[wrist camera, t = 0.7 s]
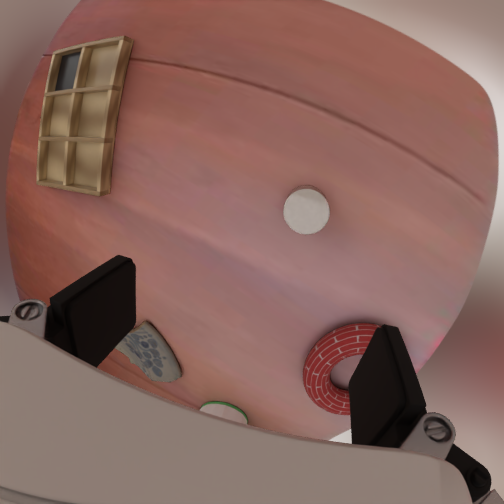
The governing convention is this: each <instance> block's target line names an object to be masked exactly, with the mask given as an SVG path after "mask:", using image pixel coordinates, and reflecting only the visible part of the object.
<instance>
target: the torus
mask: <svg viewBox="0 0 504 504" xmlns="http://www.w3.org/2000/svg"><path fill="white" fill-rule="evenodd" d="M377 327H380V328H381V326H379V325H376V324H370V323H356V324H350V325H346V326H343V327H340V328H338V329H336V330H333V331H332V332H330V333H328V334H327V335H325V336H324V337H323V338H322V339H320V340H319V341H318V342H317V343H316V345H315V346H314V347H313V348H312V350H311V351H310V353H309V354H308V357H307V359H306V361H305V365H304V369H303V382H304V386H305V389H306V392H307V394H308V395H309V397H310V398H311V400H312V401H313V402H314V403H315V404H316V405H318V406H319V407H320V408H322V409H324V410H326V411H328V412H331V413H334V414H340V415H350V402H349V391H346V390H341V389H339V388H337V387H335V386H334V385H333V384H332V383H331V381H330V372H331V370H332V369H333V367H334V366H335V365H336V364H337V363H338V362H340V361H341V360H343V359H345V358H347V357H350V356H353V355H360V354H364V352H365V350H366V348H367V346H368V344H369V342H370V340H371V338H372V336H373V334H374V332H375V330H376V328H377Z"/></svg>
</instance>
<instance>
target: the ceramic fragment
mask: <svg viewBox="0 0 504 504" xmlns="http://www.w3.org/2000/svg"><path fill="white" fill-rule="evenodd" d="M115 348H116V349H118V350H119V351H120V352H121V353H123V354H125V355H126V356H127V357H129V359H130V362H131V363H132V364H136V365H137V366H138V367H140V369H141V370H142V371H143V372H144V373H145V374H146V375H147V376H148V377H149V378H150V379H151V380H152V381H161V382H163V381H164V382H172V381H174V380H176V379H178V378H180V377H181V376H182V374H181V370H180V368H179V365H178V363H177V360H176V358H175V356H174V354H173V352H172V351H171V349H170V347H169V346H168V345H167V343H166V342H165V340H164V339H163V338H162V336H161V335H160V334H159V333H158V332H157V331H156V330H155V329H154V328H153V327H152V326H151V325H150V324H149V323H148V322H147V321H144V322H143V323H142V324H141V325H140V326H139V327H138V328H135V329H132V330H131V331H130V332H129V333H128V334H127V335H126V336H125V337H124V338H123V339H122V341H121V342H120V343H119V344H118V345H117V346H116V347H115Z"/></svg>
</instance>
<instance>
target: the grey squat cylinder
mask: <svg viewBox="0 0 504 504" xmlns="http://www.w3.org/2000/svg"><path fill="white" fill-rule="evenodd" d="M283 214H284V219H285V221H286V223H287V225H288V226H289V227H290V228H291V229H292V230H294V231H295V232H297V233H300V234H306V235H308V234H314V233H316V232H318V231H320V230H321V229H322V228H324V226H325V225H326V224H327V222H328V219H329V215H330V209H329V205H328V202H327V199H326V197H325V195H324V194H323V192H322V191H321V190H319V189H318V188H316V187H314V186H310V185H302V186H299V187H297V188H295V189H294V190H292V191H291V192H290V194H289V195H288V197H287V199H286V202H285V204H284V208H283Z"/></svg>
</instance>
